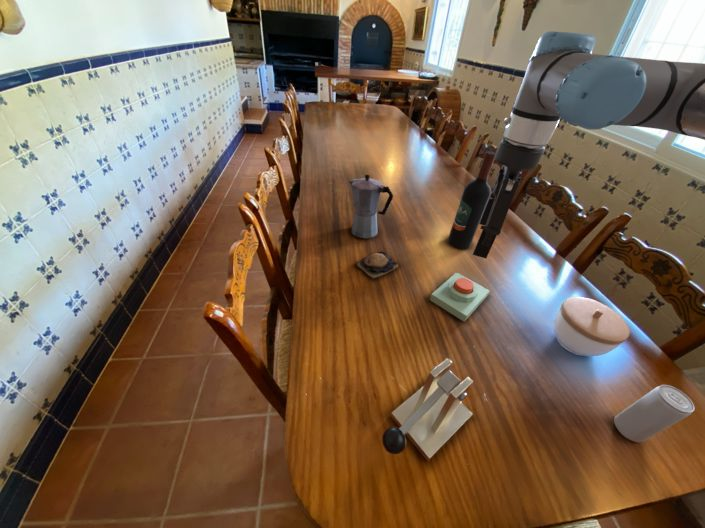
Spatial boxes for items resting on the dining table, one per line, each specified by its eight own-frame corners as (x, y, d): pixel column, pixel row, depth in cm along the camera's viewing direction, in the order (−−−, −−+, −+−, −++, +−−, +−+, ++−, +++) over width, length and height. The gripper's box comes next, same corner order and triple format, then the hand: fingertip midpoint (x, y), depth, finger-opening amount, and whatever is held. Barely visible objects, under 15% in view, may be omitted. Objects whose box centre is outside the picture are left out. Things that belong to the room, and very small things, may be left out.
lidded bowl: (570, 370, 64) (601, 339, 57) (532, 324, 73) (554, 293, 66) (617, 362, 66) (652, 331, 59) (574, 318, 76) (600, 287, 69)
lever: (395, 460, 45) (391, 460, 42) (380, 439, 47) (374, 437, 44) (463, 387, 47) (463, 382, 45) (445, 371, 49) (444, 365, 47)
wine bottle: (469, 251, 96) (506, 159, 77) (446, 245, 98) (476, 154, 79) (471, 239, 101) (505, 151, 82) (448, 234, 103) (477, 146, 84)
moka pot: (351, 219, 106) (355, 165, 94) (391, 232, 102) (401, 176, 89) (339, 232, 100) (341, 175, 87) (381, 246, 95) (390, 188, 82)
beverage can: (636, 449, 52) (690, 419, 45) (607, 424, 55) (652, 392, 48) (647, 434, 54) (700, 403, 47) (618, 411, 57) (664, 378, 50)
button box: (464, 322, 73) (469, 311, 70) (429, 300, 78) (433, 289, 75) (487, 296, 80) (492, 285, 78) (454, 277, 85) (458, 267, 83)
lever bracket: (427, 461, 49) (450, 426, 40) (390, 416, 54) (403, 375, 45) (470, 417, 55) (498, 377, 46) (433, 380, 60) (452, 338, 51)
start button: (466, 297, 74) (468, 292, 73) (451, 288, 76) (452, 283, 75) (474, 288, 77) (476, 284, 76) (459, 280, 79) (461, 275, 78)
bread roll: (373, 281, 82) (374, 271, 80) (354, 264, 87) (355, 255, 85) (400, 267, 87) (402, 257, 85) (381, 252, 92) (383, 243, 90)
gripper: (504, 122, 63) (472, 210, 76) (497, 158, 45) (457, 265, 58) (542, 128, 61) (502, 218, 74) (552, 169, 43) (496, 277, 56)
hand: (482, 239), depth 66 cm, fingers open, 13 cm apart
